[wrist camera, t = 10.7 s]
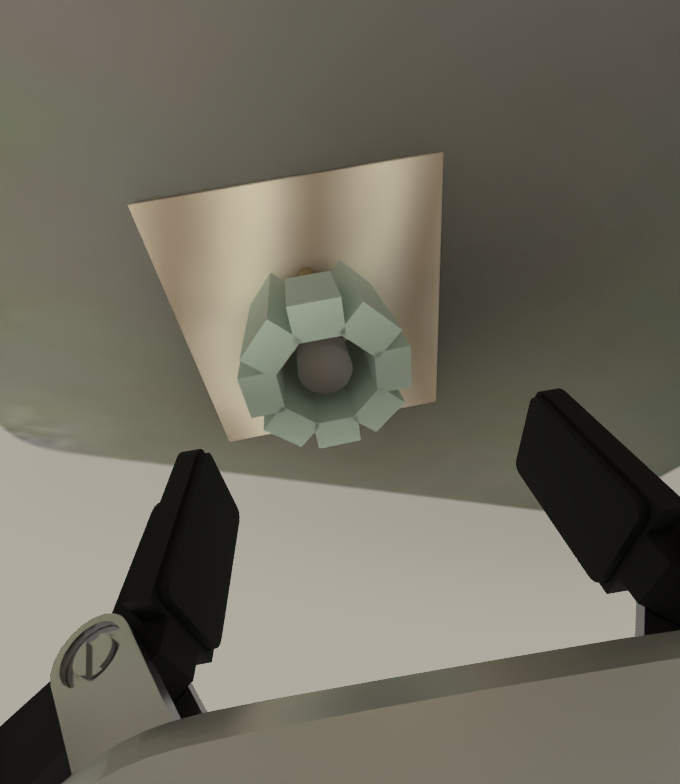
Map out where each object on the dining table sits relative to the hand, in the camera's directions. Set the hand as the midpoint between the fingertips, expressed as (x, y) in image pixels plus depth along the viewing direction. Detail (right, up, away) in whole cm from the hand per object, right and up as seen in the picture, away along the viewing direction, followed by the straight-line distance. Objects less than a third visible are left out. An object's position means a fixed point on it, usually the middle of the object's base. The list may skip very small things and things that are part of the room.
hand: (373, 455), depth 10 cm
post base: (-2, +6, +10) cm, 12 cm away
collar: (-2, +6, +9) cm, 11 cm away
